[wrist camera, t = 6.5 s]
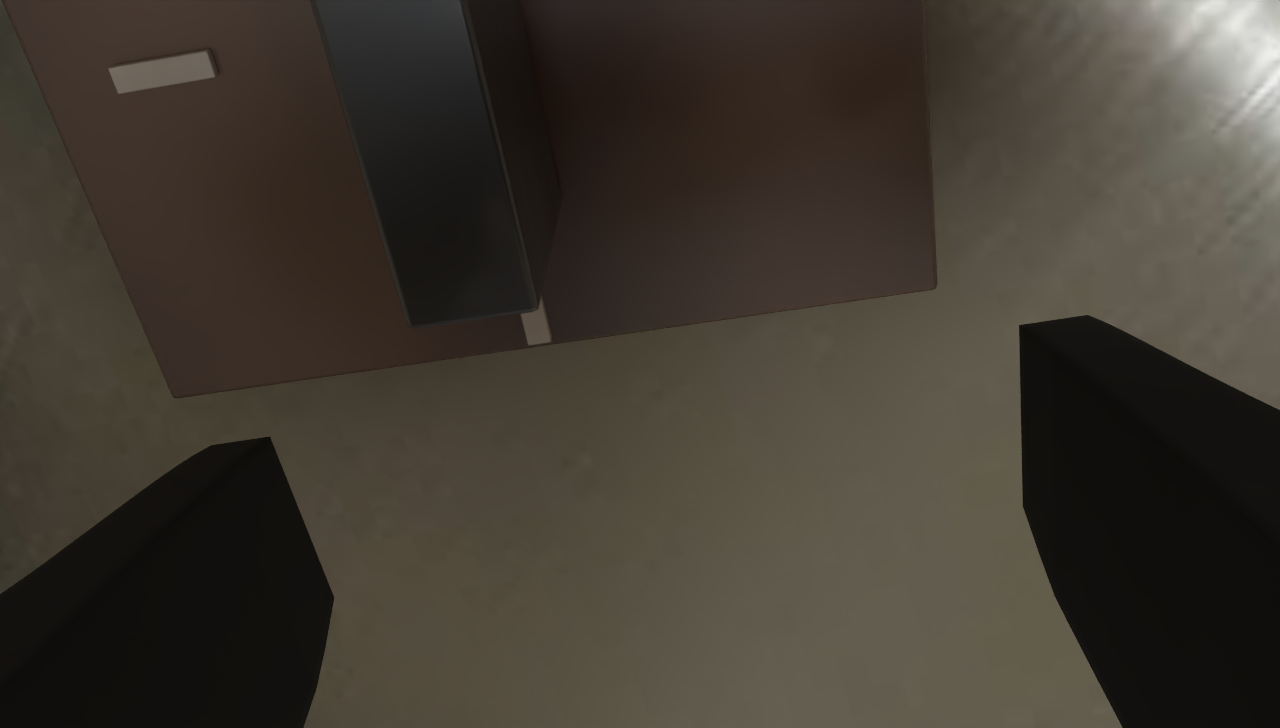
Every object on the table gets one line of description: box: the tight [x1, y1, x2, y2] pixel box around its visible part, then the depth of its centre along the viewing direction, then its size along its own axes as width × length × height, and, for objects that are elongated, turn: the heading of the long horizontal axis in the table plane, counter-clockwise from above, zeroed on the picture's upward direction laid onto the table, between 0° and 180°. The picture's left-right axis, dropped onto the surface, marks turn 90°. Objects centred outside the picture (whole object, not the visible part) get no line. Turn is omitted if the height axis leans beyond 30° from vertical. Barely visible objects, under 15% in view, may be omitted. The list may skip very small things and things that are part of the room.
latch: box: [310, 0, 562, 329], centre depth 13 cm, size 6×2×4 cm, turn 10°
